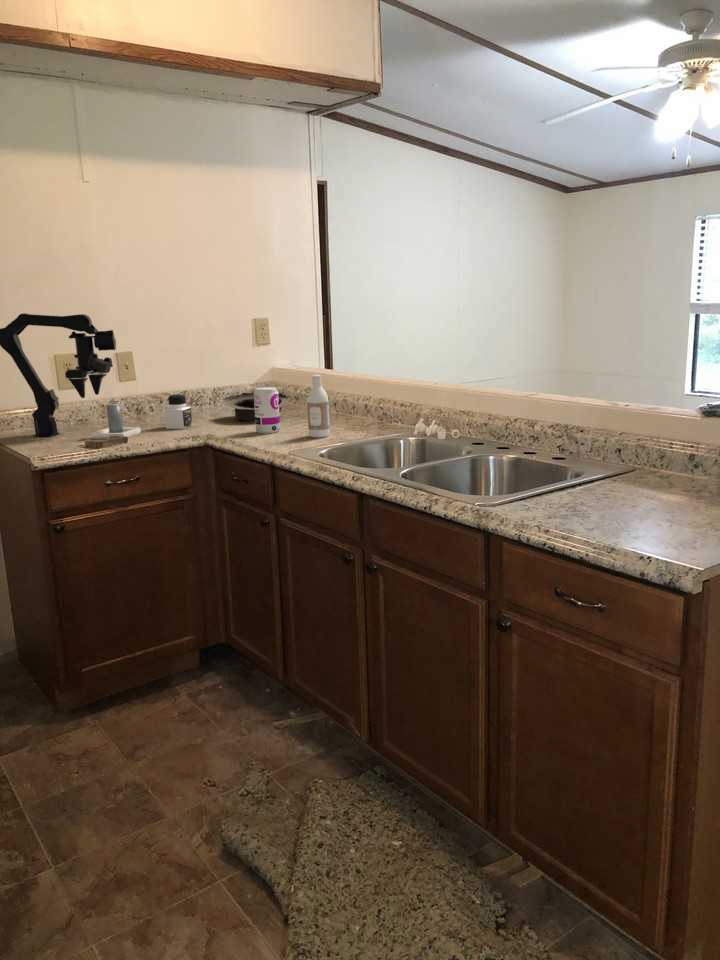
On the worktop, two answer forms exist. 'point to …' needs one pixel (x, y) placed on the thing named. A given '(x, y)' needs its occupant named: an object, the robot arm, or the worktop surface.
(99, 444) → the socket
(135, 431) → the dish
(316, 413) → the bath foam
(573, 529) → the worktop surface
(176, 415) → the medicine bottle
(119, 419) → the grey rounded upright piece
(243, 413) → the stone bowl
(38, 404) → the robot arm
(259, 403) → the supplement can
